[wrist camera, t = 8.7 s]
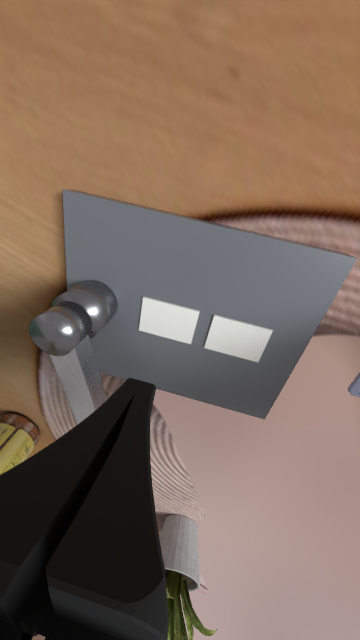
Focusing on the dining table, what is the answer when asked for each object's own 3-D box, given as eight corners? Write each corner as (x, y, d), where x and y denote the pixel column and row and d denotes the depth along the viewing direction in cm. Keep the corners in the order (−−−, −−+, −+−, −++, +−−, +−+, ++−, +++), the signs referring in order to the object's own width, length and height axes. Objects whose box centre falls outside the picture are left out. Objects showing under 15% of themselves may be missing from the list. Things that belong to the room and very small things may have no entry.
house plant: (120, 490, 35) (46, 691, 21) (210, 495, 31) (197, 744, 17) (148, 536, 41) (106, 718, 26) (227, 545, 37) (228, 763, 23)
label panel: (345, 253, 15) (358, 259, 14) (262, 406, 22) (264, 421, 21) (75, 190, 16) (60, 189, 15) (79, 355, 24) (69, 365, 22)
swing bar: (132, 467, 23) (123, 491, 21) (105, 463, 23) (95, 487, 21) (85, 300, 15) (64, 316, 13) (47, 301, 15) (21, 315, 13)
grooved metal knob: (126, 280, 19) (100, 301, 15) (123, 318, 21) (99, 345, 17) (85, 269, 19) (48, 287, 15) (85, 308, 21) (52, 333, 17)
